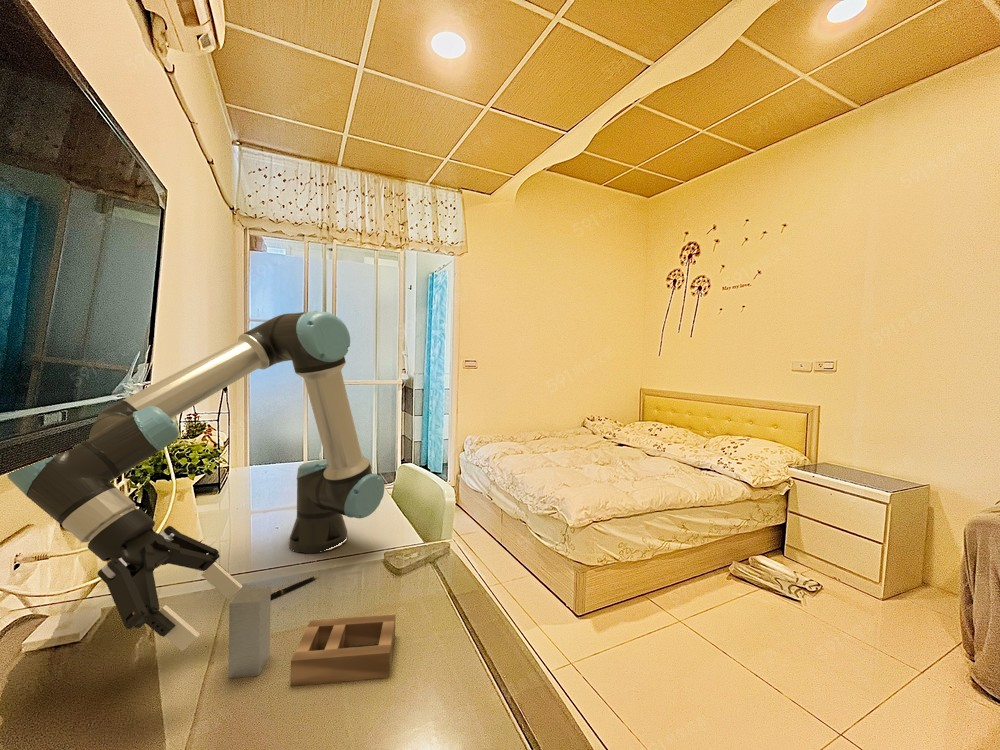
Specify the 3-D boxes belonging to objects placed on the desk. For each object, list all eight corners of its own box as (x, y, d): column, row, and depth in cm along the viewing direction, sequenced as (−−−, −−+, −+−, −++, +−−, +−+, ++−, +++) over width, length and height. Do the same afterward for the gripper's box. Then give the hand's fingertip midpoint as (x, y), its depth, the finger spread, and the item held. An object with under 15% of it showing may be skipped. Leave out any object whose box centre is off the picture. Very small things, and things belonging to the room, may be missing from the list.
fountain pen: (318, 577, 99) (318, 570, 99) (321, 578, 98) (321, 572, 98) (256, 605, 87) (256, 597, 87) (259, 606, 86) (259, 599, 86)
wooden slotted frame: (310, 642, 76) (310, 620, 75) (395, 635, 78) (395, 614, 78) (290, 686, 65) (290, 660, 65) (389, 677, 68) (389, 652, 67)
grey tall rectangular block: (241, 658, 71) (242, 588, 71) (269, 656, 72) (270, 587, 71) (228, 678, 67) (229, 603, 66) (258, 675, 67) (259, 601, 67)
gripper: (148, 514, 77) (234, 591, 79) (11, 584, 52) (143, 692, 55) (180, 485, 78) (265, 562, 80) (61, 540, 53) (188, 649, 55)
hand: (216, 615), depth 67 cm, fingers open, 13 cm apart
